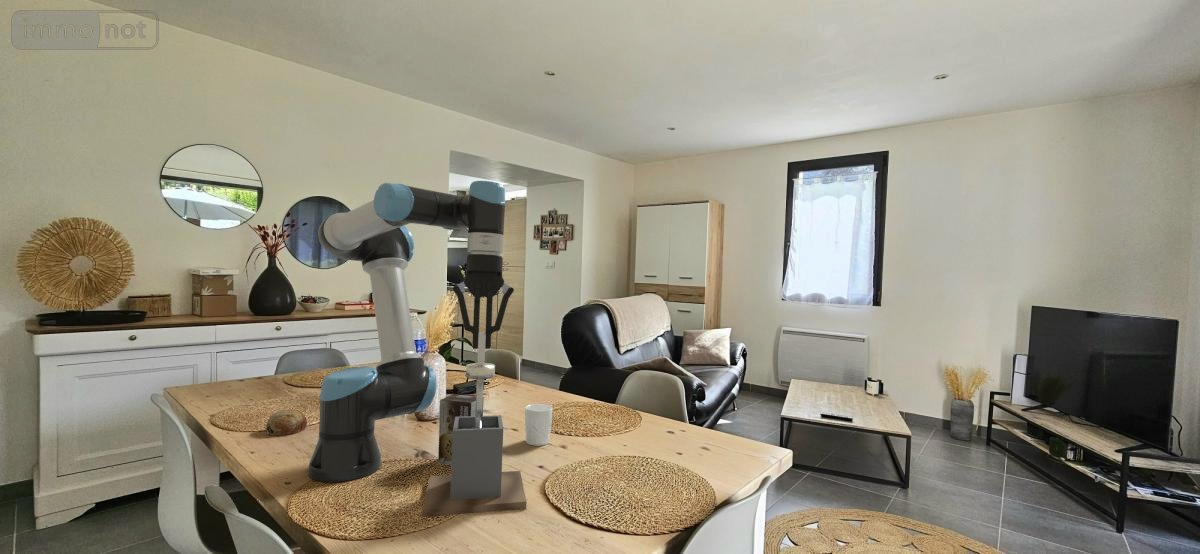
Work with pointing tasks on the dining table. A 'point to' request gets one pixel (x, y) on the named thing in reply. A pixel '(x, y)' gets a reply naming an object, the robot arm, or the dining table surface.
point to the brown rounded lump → (286, 423)
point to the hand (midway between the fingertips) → (480, 364)
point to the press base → (441, 505)
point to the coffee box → (452, 422)
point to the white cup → (538, 424)
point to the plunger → (479, 387)
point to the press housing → (476, 458)
